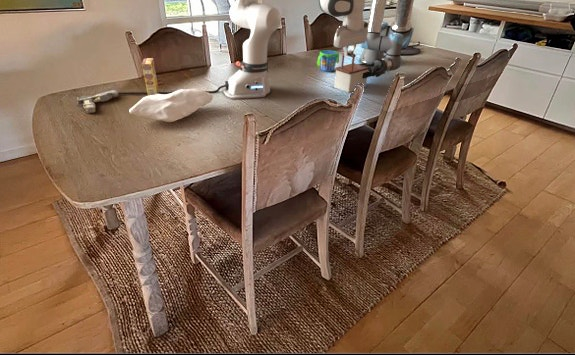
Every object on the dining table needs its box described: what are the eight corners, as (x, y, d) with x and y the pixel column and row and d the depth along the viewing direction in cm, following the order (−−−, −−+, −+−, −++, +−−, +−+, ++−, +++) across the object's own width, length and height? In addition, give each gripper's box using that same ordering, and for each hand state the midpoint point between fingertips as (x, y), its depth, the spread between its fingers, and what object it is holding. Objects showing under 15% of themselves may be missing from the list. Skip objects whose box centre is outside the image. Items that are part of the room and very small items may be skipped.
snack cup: (332, 66, 217) (333, 48, 212) (343, 70, 210) (345, 52, 204) (311, 69, 210) (312, 51, 204) (322, 74, 202) (324, 55, 197)
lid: (349, 74, 174) (352, 55, 169) (334, 69, 180) (336, 51, 175) (368, 69, 182) (371, 51, 178) (353, 65, 188) (355, 47, 183)
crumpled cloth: (117, 110, 146) (113, 90, 140) (195, 92, 166) (194, 73, 160) (143, 139, 134) (140, 118, 128) (223, 116, 154) (224, 96, 148)
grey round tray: (430, 51, 257) (433, 37, 253) (397, 56, 240) (399, 42, 235) (392, 44, 282) (394, 31, 277) (360, 48, 264) (361, 35, 260)
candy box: (157, 97, 164) (152, 63, 155) (147, 98, 163) (141, 63, 155) (158, 91, 171) (153, 57, 163) (149, 91, 170) (143, 58, 162)
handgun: (128, 97, 156) (111, 87, 164) (86, 107, 144) (70, 97, 152) (129, 103, 157) (113, 94, 165) (88, 114, 146) (72, 103, 154)
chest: (348, 92, 179) (350, 74, 175) (334, 87, 185) (335, 69, 180) (365, 87, 187) (368, 69, 182) (351, 82, 193) (353, 65, 188)
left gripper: (342, 27, 159) (339, 59, 167) (371, 23, 171) (366, 53, 179) (332, 25, 163) (329, 56, 171) (360, 21, 175) (356, 50, 183)
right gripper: (397, 78, 193) (371, 86, 180) (364, 68, 206) (338, 75, 193) (400, 63, 189) (374, 71, 176) (366, 54, 202) (339, 60, 189)
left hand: (348, 54), depth 175 cm, fingers closed
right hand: (355, 73), depth 184 cm, fingers closed on chest, 9 cm apart
